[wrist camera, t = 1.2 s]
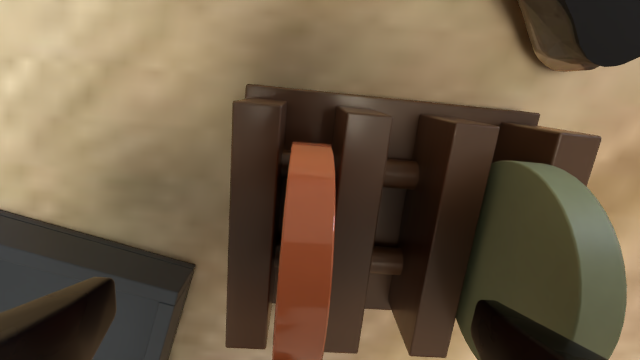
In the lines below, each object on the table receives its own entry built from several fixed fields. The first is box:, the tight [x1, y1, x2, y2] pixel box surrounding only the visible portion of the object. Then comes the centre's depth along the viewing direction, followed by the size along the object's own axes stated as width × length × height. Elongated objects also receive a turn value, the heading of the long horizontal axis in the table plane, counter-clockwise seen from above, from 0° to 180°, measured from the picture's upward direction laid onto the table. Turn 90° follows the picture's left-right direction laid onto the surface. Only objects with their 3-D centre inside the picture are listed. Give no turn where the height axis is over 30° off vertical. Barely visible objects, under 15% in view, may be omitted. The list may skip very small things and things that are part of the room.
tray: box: [0, 210, 195, 360], centre depth 16 cm, size 12×11×2 cm
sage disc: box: [456, 161, 627, 360], centre depth 11 cm, size 7×1×7 cm, turn 174°
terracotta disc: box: [272, 141, 336, 360], centre depth 11 cm, size 7×1×7 cm, turn 174°
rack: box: [226, 84, 601, 358], centre depth 14 cm, size 10×12×5 cm
